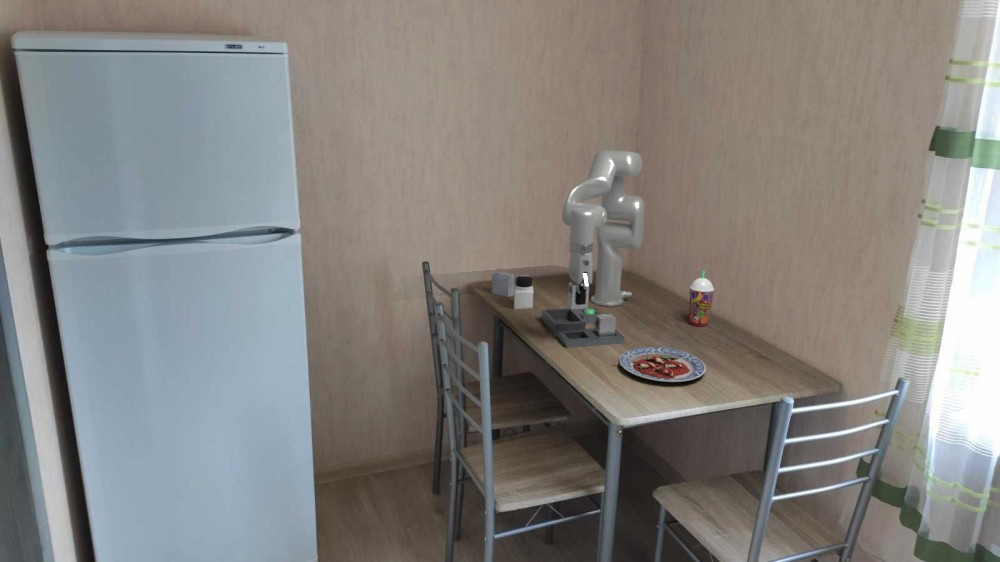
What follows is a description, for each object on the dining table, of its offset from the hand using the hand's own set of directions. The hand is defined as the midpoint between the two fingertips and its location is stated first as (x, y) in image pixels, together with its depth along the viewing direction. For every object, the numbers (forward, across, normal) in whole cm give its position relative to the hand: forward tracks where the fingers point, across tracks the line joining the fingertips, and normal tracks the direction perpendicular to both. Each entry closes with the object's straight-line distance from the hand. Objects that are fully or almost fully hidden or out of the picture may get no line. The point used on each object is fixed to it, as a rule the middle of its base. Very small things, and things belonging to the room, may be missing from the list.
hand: (578, 301), depth 234 cm
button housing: (+15, +19, -12) cm, 26 cm away
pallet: (+15, 0, -5) cm, 16 cm away
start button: (+13, +19, -12) cm, 26 cm away
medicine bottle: (+15, +40, +7) cm, 43 cm away
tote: (+15, +15, -1) cm, 21 cm away
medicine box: (+15, +56, +11) cm, 59 cm away
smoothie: (+15, +10, -50) cm, 53 cm away
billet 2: (+14, 0, -10) cm, 17 cm away
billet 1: (+2, 0, 0) cm, 2 cm away
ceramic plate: (+15, -24, -19) cm, 35 cm away
